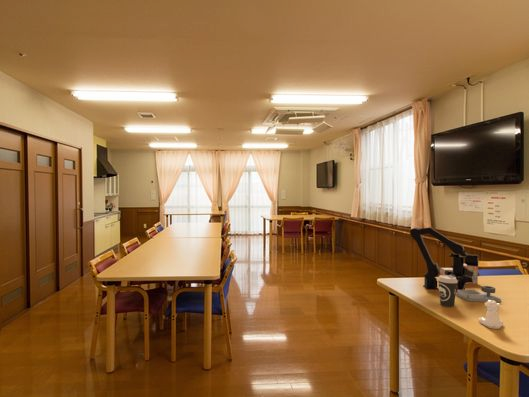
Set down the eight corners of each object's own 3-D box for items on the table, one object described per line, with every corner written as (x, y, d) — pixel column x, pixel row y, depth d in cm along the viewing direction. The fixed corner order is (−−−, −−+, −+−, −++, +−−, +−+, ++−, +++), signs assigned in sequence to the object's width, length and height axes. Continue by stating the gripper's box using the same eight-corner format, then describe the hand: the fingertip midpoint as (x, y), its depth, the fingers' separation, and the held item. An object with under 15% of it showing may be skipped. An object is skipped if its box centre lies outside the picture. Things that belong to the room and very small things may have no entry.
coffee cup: (457, 309, 164) (457, 280, 164) (436, 305, 169) (436, 277, 169) (457, 304, 172) (458, 276, 172) (437, 300, 177) (437, 273, 177)
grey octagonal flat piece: (486, 293, 179) (486, 288, 179) (479, 290, 185) (479, 285, 185) (497, 293, 179) (497, 288, 179) (489, 290, 185) (489, 285, 185)
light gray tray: (468, 301, 176) (468, 292, 176) (456, 295, 187) (456, 286, 187) (500, 301, 176) (500, 292, 176) (486, 295, 187) (486, 286, 187)
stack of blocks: (444, 283, 212) (444, 265, 212) (440, 281, 219) (440, 263, 219) (477, 284, 211) (478, 265, 211) (472, 281, 218) (472, 263, 218)
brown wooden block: (455, 293, 191) (455, 283, 191) (450, 290, 196) (450, 281, 196) (465, 293, 191) (465, 283, 191) (460, 290, 196) (460, 281, 196)
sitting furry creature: (502, 324, 145) (502, 298, 145) (508, 332, 137) (508, 304, 137) (477, 321, 148) (478, 295, 148) (482, 328, 140) (482, 301, 140)
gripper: (481, 268, 184) (481, 295, 184) (461, 261, 203) (461, 285, 203) (462, 268, 184) (462, 295, 184) (444, 261, 203) (444, 285, 203)
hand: (457, 290), depth 194 cm, fingers closed on brown wooden block, 4 cm apart
